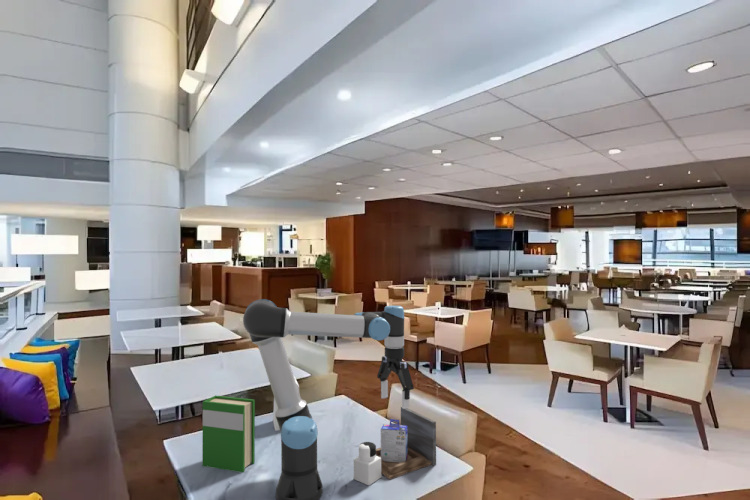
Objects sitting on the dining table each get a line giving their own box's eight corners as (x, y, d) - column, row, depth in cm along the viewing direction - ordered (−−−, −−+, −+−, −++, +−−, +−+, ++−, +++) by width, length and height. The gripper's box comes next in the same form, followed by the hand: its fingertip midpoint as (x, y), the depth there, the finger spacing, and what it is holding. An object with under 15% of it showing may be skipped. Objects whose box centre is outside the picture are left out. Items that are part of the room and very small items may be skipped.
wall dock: (391, 480, 148) (390, 434, 149) (361, 458, 165) (361, 416, 165) (436, 464, 160) (435, 421, 160) (403, 445, 176) (403, 406, 177)
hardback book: (254, 463, 162) (254, 399, 162) (243, 472, 155) (243, 406, 155) (215, 457, 167) (215, 395, 167) (202, 465, 160) (202, 401, 160)
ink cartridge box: (408, 457, 164) (408, 419, 164) (406, 463, 158) (406, 424, 159) (382, 455, 166) (382, 417, 166) (380, 461, 160) (380, 422, 161)
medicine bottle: (366, 471, 155) (366, 438, 155) (381, 477, 151) (381, 443, 151) (353, 479, 150) (353, 444, 150) (368, 486, 145) (368, 450, 145)
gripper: (423, 351, 154) (423, 410, 154) (383, 340, 175) (384, 392, 175) (406, 353, 150) (406, 414, 150) (368, 342, 171) (368, 395, 170)
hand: (394, 402), depth 162 cm, fingers open, 13 cm apart
